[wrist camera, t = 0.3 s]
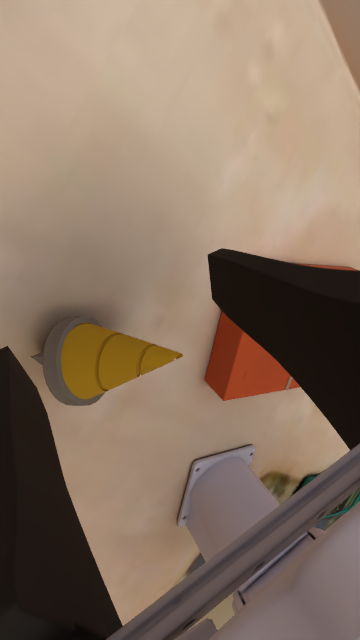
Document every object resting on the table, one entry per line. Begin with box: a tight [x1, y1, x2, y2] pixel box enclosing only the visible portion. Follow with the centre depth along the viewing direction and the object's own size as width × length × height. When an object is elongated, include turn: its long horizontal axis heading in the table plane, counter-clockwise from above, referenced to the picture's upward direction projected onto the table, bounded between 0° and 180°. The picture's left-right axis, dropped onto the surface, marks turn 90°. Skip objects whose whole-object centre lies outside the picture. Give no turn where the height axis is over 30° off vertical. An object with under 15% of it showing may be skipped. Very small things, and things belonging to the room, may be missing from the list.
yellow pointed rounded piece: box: [31, 316, 183, 406], centre depth 20 cm, size 5×5×10 cm
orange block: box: [205, 263, 359, 401], centre depth 30 cm, size 14×11×3 cm
